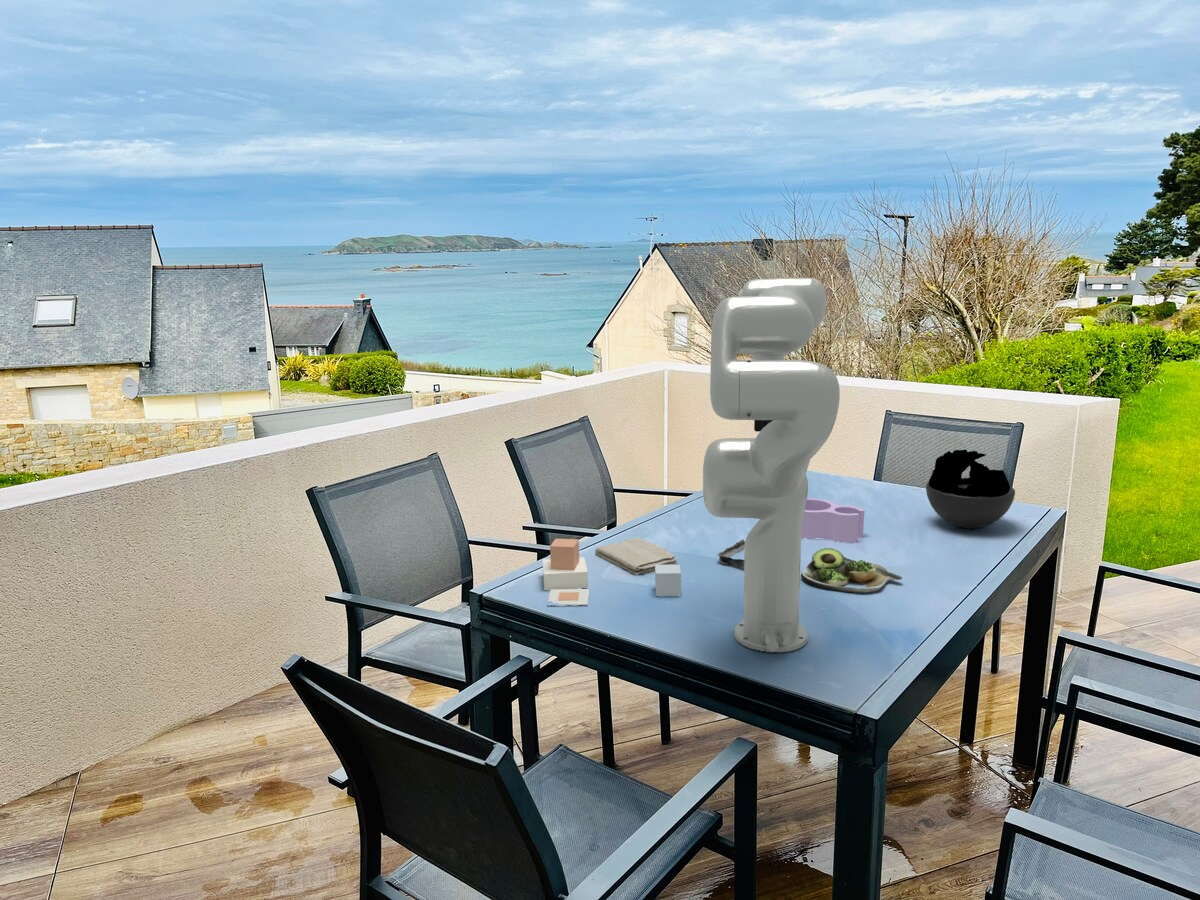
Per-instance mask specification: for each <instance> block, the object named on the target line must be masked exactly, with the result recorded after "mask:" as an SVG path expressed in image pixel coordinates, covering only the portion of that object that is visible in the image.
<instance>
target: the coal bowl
mask: <svg viewBox="0 0 1200 900" xmlns="http://www.w3.org/2000/svg"><path fill="white" fill-rule="evenodd" d="M986 456H987V454H986V453H983V452H981V453H979V452H978V451H977V450H971V451H968V450H967V449H954V450H953V451H952V452H951V451H950V450H948V451H946V452H945V453H943V455H940V456H938V457H937V458H936V459H935V462H934V469H933V470H932V473H931V476H930V477H929V480H928V481H927V483H926V485H925V491H926V497H927V500H928V502H929V504H930V506H931V507H932V509H933V510H934V512H935V513H936V514H937V515H938V516H939V517H940V518H941V519H943V520H944V521H946V522H947V523H949V524H951V525H954V526H957V527H960V528H966V529H977V528H984V527H986V526H989V525H991V524H995V522H997V521H999V520H1000V519H1002V518H1003V516H1005V514H1006V513H1007V512H1008V511H1009V509H1010V508H1011V506H1012V504H1013V503H1014V500H1015V496H1016V490H1015V488H1013V487H1012V486H1011V485H1010V483H1009V480H1008V478H1007V475H1006V473H1005V470H1003V469H990V468H989V467H988V465H987V466H986V465H984V464H983V463H980V462H978V461H976V460H979V459H981V458H983V457H986ZM968 468H969V469H970V470H969V473H968V474H969V475H968V476H969V477H962V474H963V473H964V472H965V471H966V470H967V469H968Z"/></svg>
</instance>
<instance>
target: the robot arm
mask: <svg viewBox="0 0 1200 900" xmlns="http://www.w3.org/2000/svg"><path fill="white" fill-rule="evenodd" d="M826 310H827V296H826V289H825V288H824V285H823V284H822V282H820V281H819V280H818V279H816V278H814V277H787V278H786V277H780V278H779V277H778V278H754V279H751V280H748V281H747V282H746V283H745V284H743V287H742V289H740V291H739V294H738V296H729V297H726V298H724V299H723V300H721V301H720V302H719V304H718V305H717V306H716V309H715V311H714V314H713V318H712V319H713V320H712V324H711V334H710V335H711V336H710V337H711V338H710V375H709V376H710V378H709V379H710V380H709V382H710V383H709V385H710V386H709V388H710V389H709V392H710V393H709V394H710V395H709V396H710V402H711V407H712V409H713V411H714V413H715V415H717V416H718V417H719V418H722V419H725V420H729V421H754V422H753V423H754V424H753V425H754V427H753V430H754V432H756V433H757V432H758V434H757V435H756V437H753V438H752V437H750V438H749V437H748V438H745V437H741V438H739V437H738V438H735V437H731V438H728V437H727V438H719V439H716V440H714V441H712V442H711V443H710V444H709V445H708V446H707V448H706V451H705V453H704V457H703V465H702V497H703V502H704V506H705V509H706V510H707V511H708V513H709V514H711V516H714V517H716V518H725V519H754V520H755V519H756V520H758V521H757V522H756V523H755V524H754V525H753V526H752V528H751V529H750V531H749V532H748V534H747V536H746V538H745V540H744V541H745V547H744V549H743V550H744V551H743V553H744V555H743V558H744V559H743V560H744V570H743V620H742V621H741V622H739V623H738V624H737V625H736V626H735V627H734V637H735V639H736V641H737V642H738V643H739V644H740V645H742V646H743V647H746V648H748V649H751V650H754V649H755V650H754V651H758V650H760V651H759V652H763V651H766V652H765V653H774V652H777V653H787V652H792V651H795V650H799V649H801V648H802V647H804V646H805V645H806V644H807V643H808V631H807V630H806V628H804V627H803V626H802V625H801V624H800V621H799V620H800V594H801V593H800V588H801V587H800V586H801V552H802V551H801V550H802V538H801V534H802V523H803V516H804V511H805V505H806V500H807V498H808V493H809V480H808V477H807V471H808V468H809V465H810V462H811V460H812V458H813V457H814V456H815V455H816V454H817V453H818V452H819V451H820V450H821V448H822V447H823V446H824V445H825V444H826V442H827V441H828V439H829V437H830V436H831V433H832V431H833V430H834V425H835V423H836V420H837V416H838V412H839V408H840V407H839V406H840V399H841V398H840V395H841V389H840V384H839V380H838V377H837V375H836V374H835V371H833V370H832V369H831V368H829V366H827V365H825V364H822V363H819V362H816V361H812V360H806V359H785V356H788V355H789V353H792V352H796V351H798V350H799V349H801V348H803V347H804V346H805V345H807V343H808V342H809V341H810V338H811V337H812V336H813V333H814V330H815V329H817V328H818V327H819V326H820V325H821V324H822V322H823V320H824V318H825V315H826ZM739 354H740V355H741V354H742V355H745V354H746V355H748V356H752V357H753V358H752V359H737V355H739Z"/></svg>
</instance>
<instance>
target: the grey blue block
mask: <svg viewBox="0 0 1200 900" xmlns="http://www.w3.org/2000/svg"><path fill="white" fill-rule="evenodd" d="M654 575H655V577H654V581H655V582H654V583H655V584H654V587H655V589H656V590H655V597H656V596H679V595H680V597H682V571H681V564H678V565H655V572H654Z"/></svg>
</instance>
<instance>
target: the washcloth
mask: <svg viewBox="0 0 1200 900" xmlns="http://www.w3.org/2000/svg"><path fill="white" fill-rule="evenodd" d="M595 555H596V556H598V557H600V558H602V559H604V560H606V561H607V562H609V563H611V564H613V565H616V566H618V567H619V568H621V569H623V568H624V569H623V570H625V569H626V570H625V571H627V570H628V571H627V572H629V573H630V572H631V574H632V573H633V574H632V575H634V574H635V575H634V576H636V575H637V576H638V575H646V574H645V573H648V574H651V573H650V572H652V573H655V565H679V563H678V562H677V560H676V559H675V557H676V555H675V554H673V553H670V552H669V551H668V550H666V548H665V547H663V546H659V545H656V544H654V543H653V542H650V541H647V540H644V539H643V538H641V537H633V538H629V539H625V540H623V541H620V542H617V543H610V544H605V545H602V546H599V547H596V549H595Z"/></svg>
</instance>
